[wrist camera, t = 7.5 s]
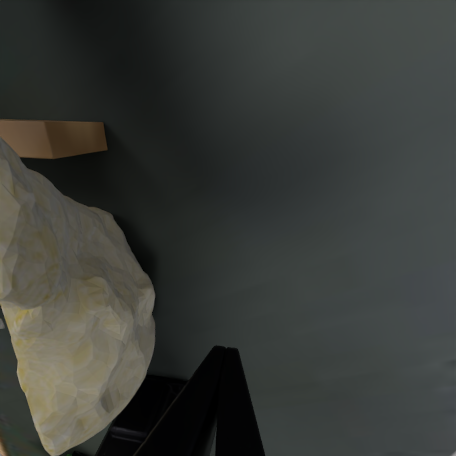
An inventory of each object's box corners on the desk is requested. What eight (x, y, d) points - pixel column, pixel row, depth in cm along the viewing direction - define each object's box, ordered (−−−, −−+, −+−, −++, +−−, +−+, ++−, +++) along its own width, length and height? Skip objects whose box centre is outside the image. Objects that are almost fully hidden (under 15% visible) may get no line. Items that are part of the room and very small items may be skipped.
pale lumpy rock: (147, 343, 23) (241, 440, 11) (56, 389, 19) (38, 632, 7) (104, 188, 23) (152, 102, 10) (0, 201, 18) (-132, 82, 6)
